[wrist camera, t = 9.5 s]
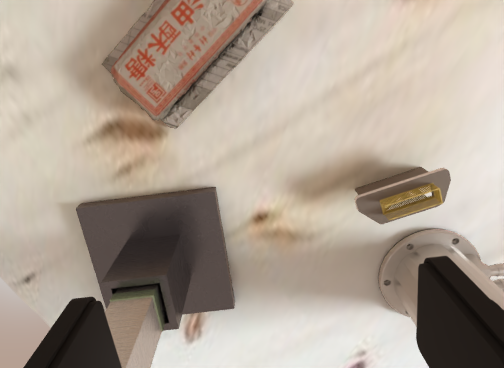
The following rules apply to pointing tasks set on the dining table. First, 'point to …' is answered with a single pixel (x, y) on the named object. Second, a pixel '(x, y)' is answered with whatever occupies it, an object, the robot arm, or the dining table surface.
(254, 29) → the packaged product
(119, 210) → the stand housing
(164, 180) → the dining table surface
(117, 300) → the column
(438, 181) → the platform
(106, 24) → the dining table surface
